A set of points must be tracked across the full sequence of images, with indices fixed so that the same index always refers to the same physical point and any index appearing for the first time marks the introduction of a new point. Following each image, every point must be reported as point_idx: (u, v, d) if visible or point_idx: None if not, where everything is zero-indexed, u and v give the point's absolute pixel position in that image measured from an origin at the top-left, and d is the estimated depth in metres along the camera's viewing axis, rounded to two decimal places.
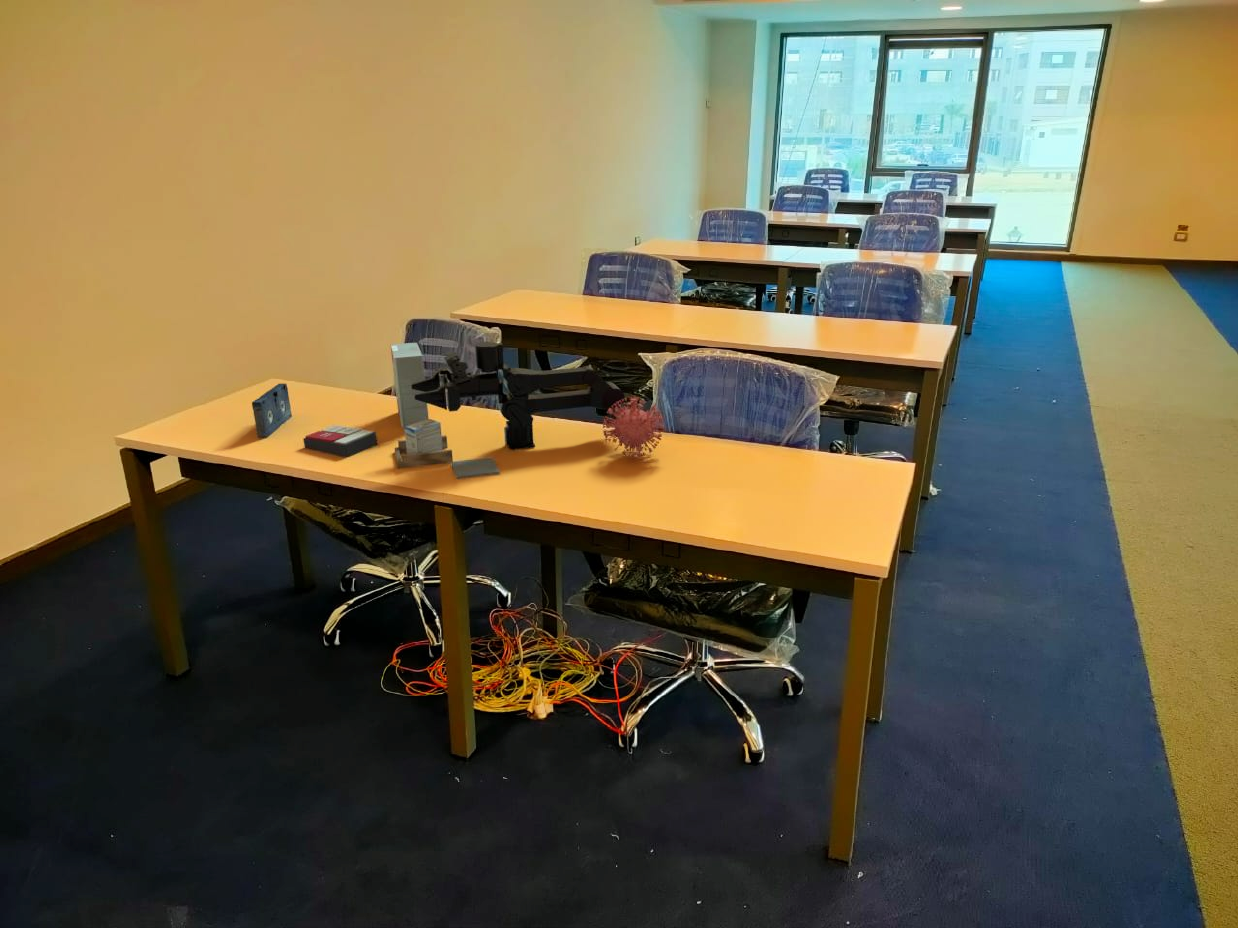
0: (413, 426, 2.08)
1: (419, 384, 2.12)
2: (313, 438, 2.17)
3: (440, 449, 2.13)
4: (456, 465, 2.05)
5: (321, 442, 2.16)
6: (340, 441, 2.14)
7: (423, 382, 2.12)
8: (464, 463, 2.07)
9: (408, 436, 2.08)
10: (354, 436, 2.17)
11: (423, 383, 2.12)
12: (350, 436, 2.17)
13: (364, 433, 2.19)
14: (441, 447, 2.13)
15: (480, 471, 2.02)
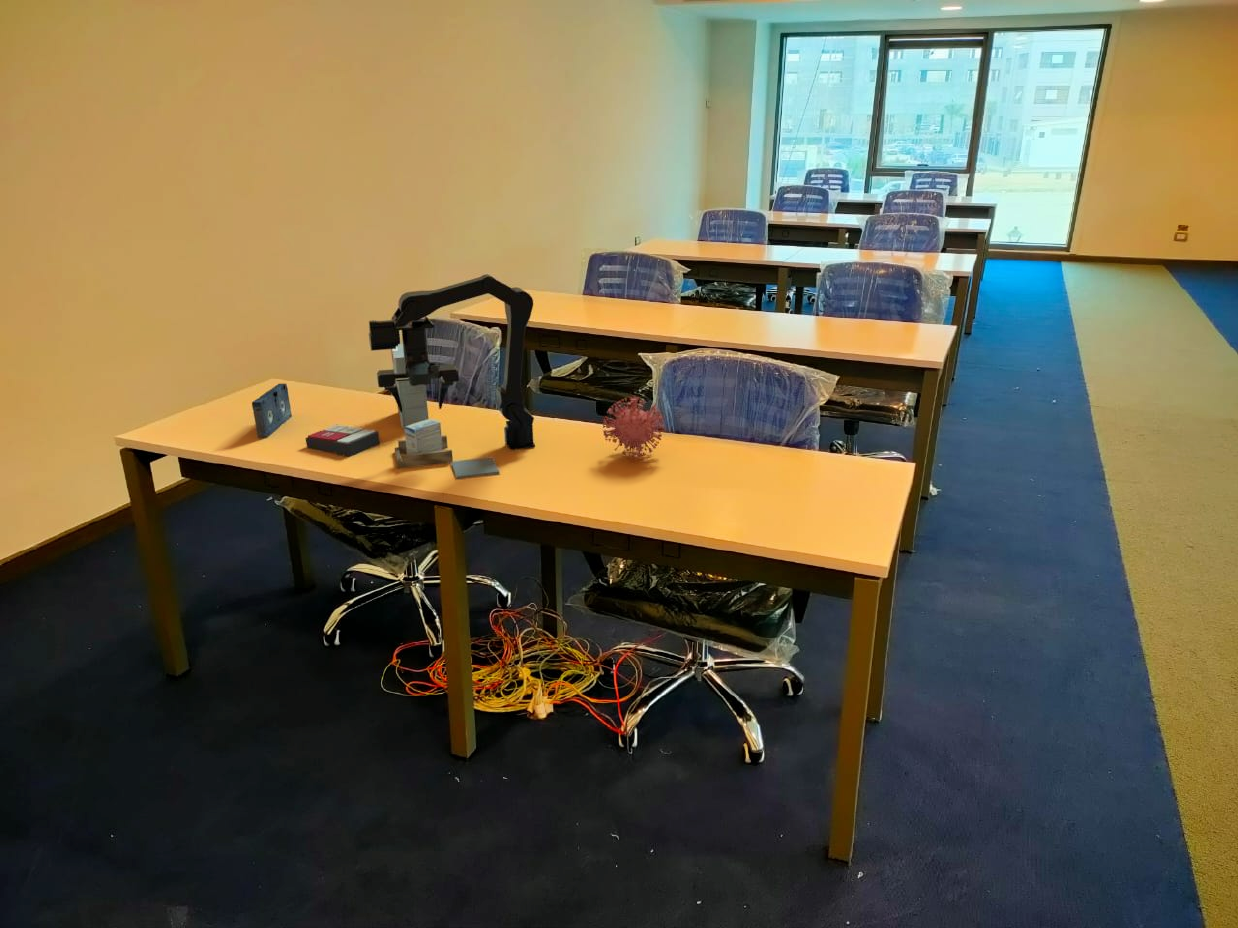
0: (413, 426, 2.08)
1: None
2: (315, 438, 2.18)
3: (440, 449, 2.13)
4: (456, 465, 2.05)
5: (323, 441, 2.16)
6: (343, 440, 2.14)
7: (400, 401, 2.05)
8: (464, 463, 2.07)
9: (408, 436, 2.08)
10: (356, 435, 2.17)
11: (399, 401, 2.06)
12: (352, 435, 2.17)
13: (366, 432, 2.19)
14: (441, 447, 2.13)
15: (480, 471, 2.02)
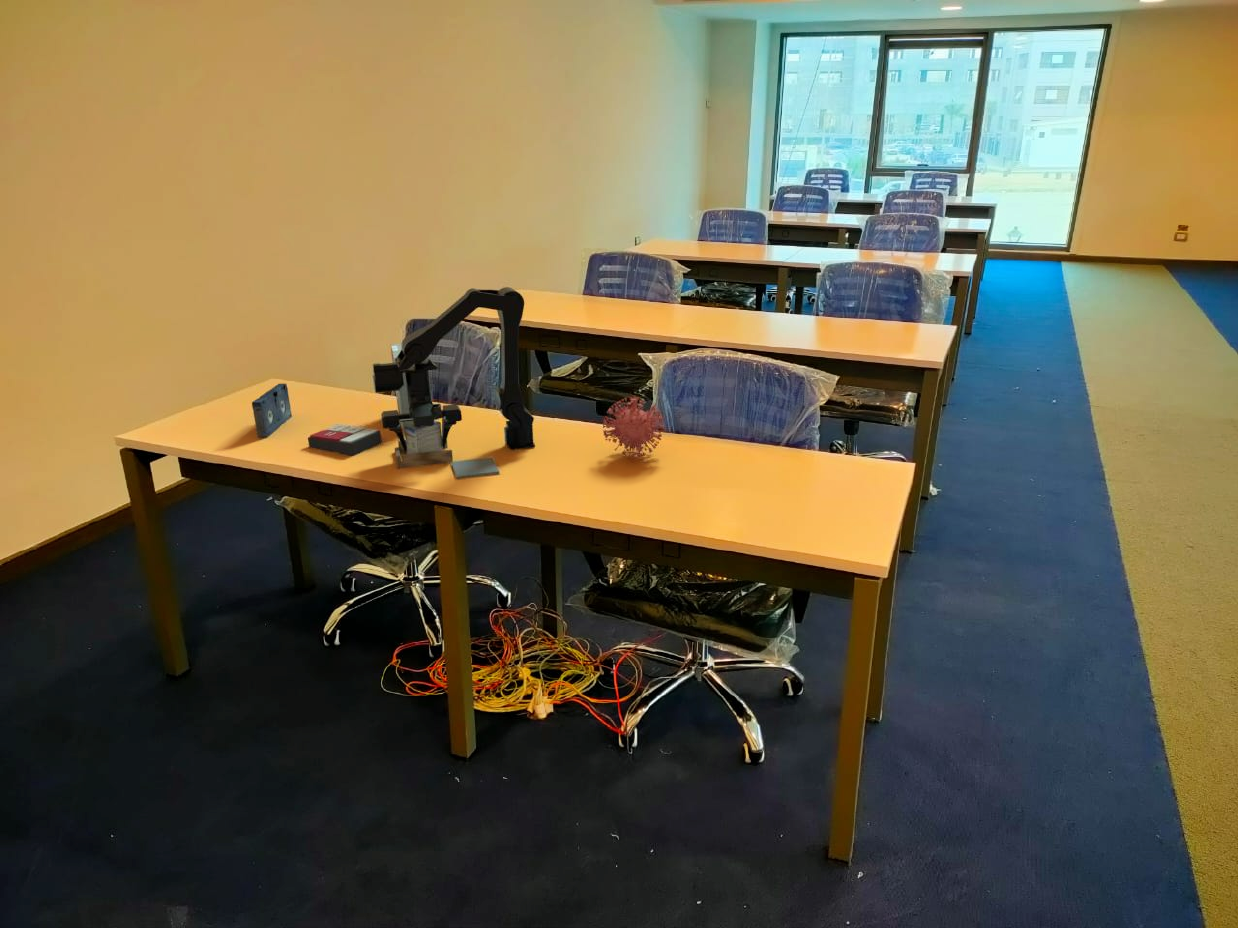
0: (413, 426, 2.08)
1: (405, 444, 2.10)
2: (318, 437, 2.18)
3: (440, 449, 2.13)
4: (456, 465, 2.05)
5: (326, 441, 2.16)
6: (345, 440, 2.14)
7: (404, 441, 2.09)
8: (464, 463, 2.07)
9: (408, 436, 2.08)
10: (359, 435, 2.18)
11: None
12: (355, 435, 2.18)
13: (369, 432, 2.20)
14: (441, 447, 2.13)
15: (480, 471, 2.02)
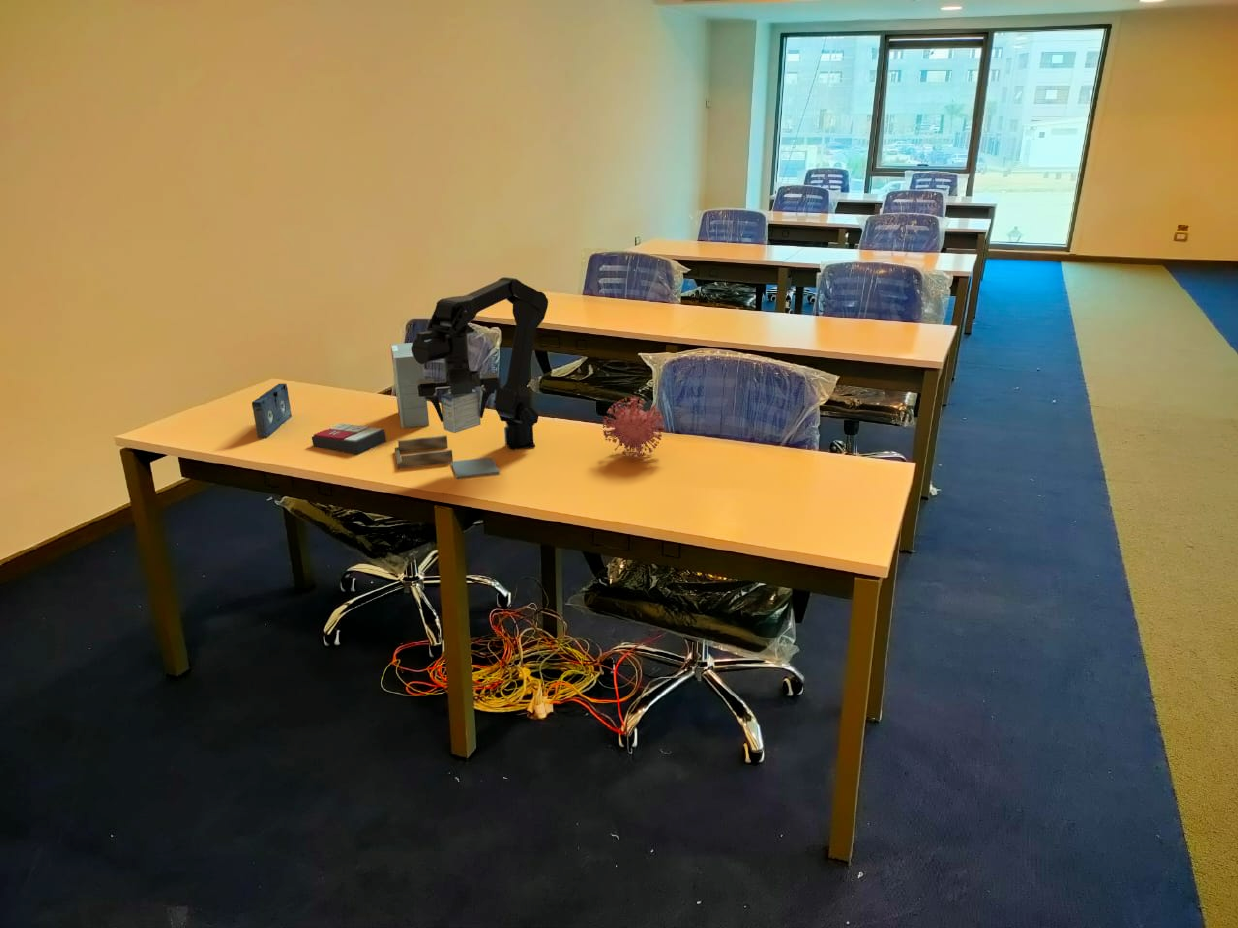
0: (449, 395, 1.98)
1: None
2: (322, 436, 2.19)
3: (478, 419, 2.03)
4: (456, 465, 2.05)
5: (330, 440, 2.17)
6: (350, 439, 2.15)
7: None
8: (464, 463, 2.07)
9: (444, 405, 1.98)
10: (363, 433, 2.18)
11: (440, 410, 1.99)
12: (359, 434, 2.19)
13: (373, 430, 2.21)
14: (479, 417, 2.03)
15: (480, 471, 2.02)
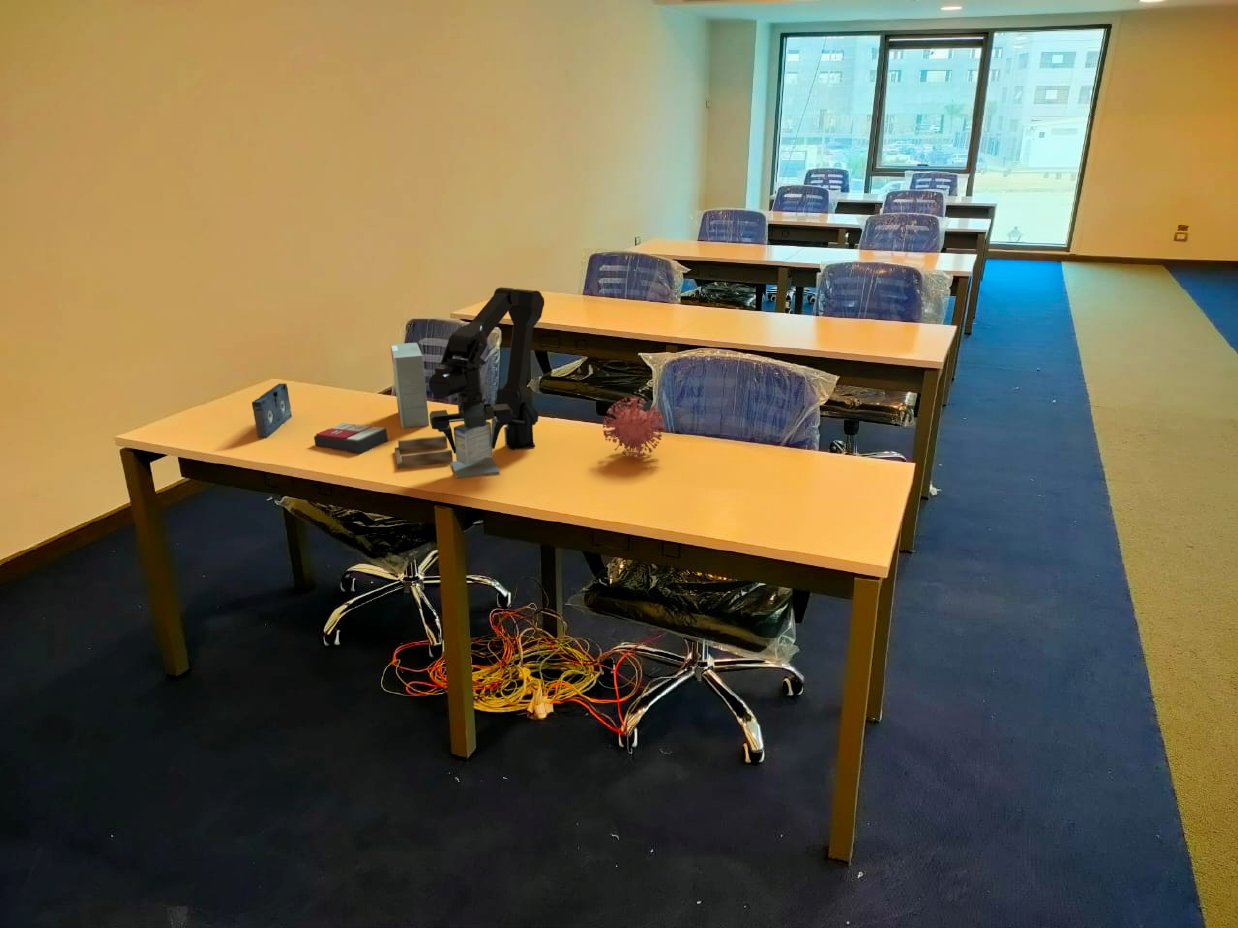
0: (462, 427, 1.99)
1: (454, 445, 2.01)
2: (324, 436, 2.19)
3: (490, 450, 2.04)
4: (456, 465, 2.05)
5: (333, 439, 2.17)
6: (353, 438, 2.16)
7: (453, 442, 2.00)
8: None
9: (458, 437, 1.99)
10: (366, 433, 2.19)
11: None
12: (362, 433, 2.19)
13: (375, 430, 2.21)
14: (491, 448, 2.04)
15: (480, 471, 2.02)
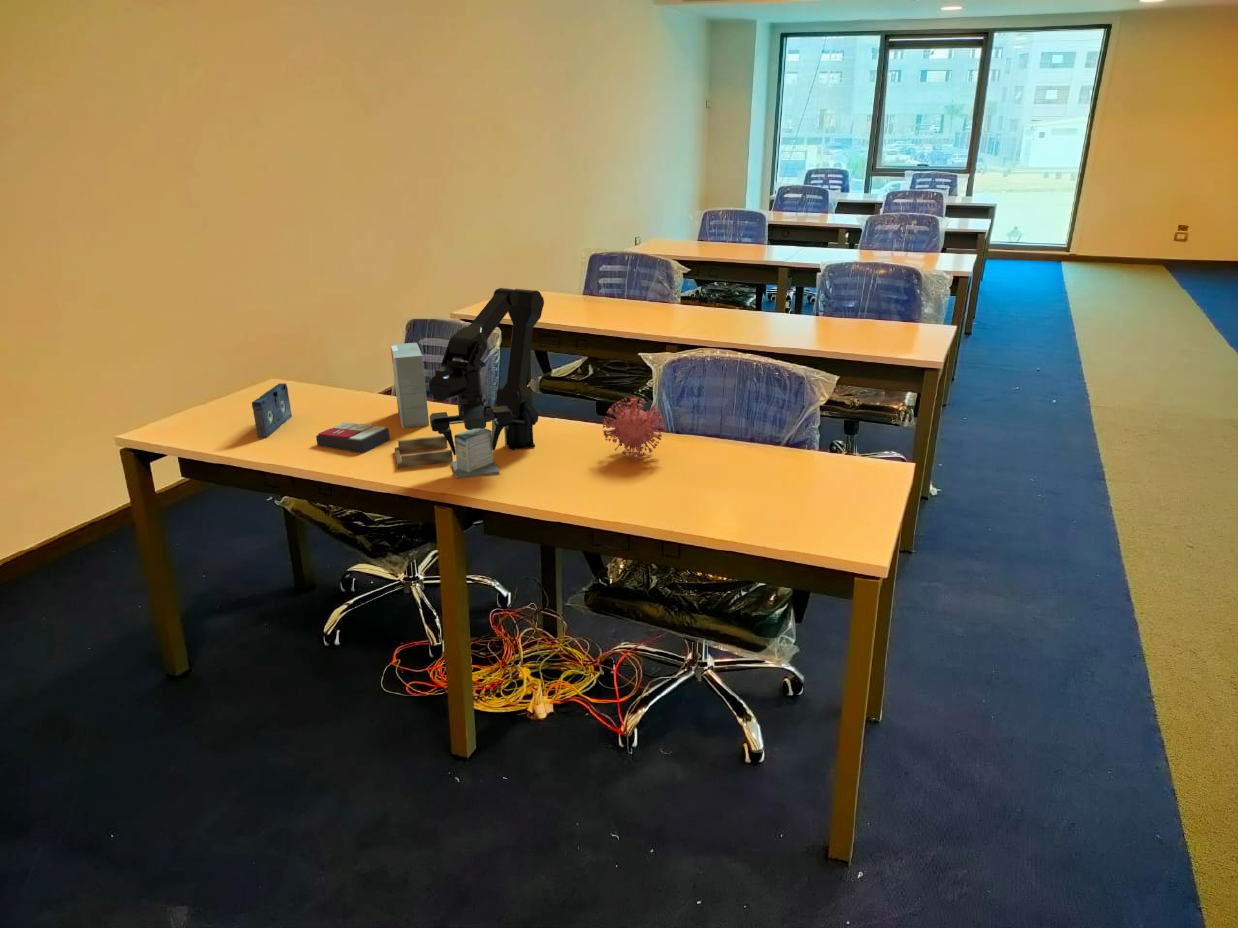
0: (463, 435, 2.00)
1: (454, 447, 2.01)
2: (326, 435, 2.19)
3: (490, 458, 2.05)
4: (456, 465, 2.05)
5: (335, 439, 2.18)
6: (355, 437, 2.16)
7: (453, 444, 2.00)
8: None
9: (458, 445, 2.00)
10: (368, 432, 2.19)
11: None
12: (364, 432, 2.20)
13: (377, 429, 2.22)
14: (491, 456, 2.05)
15: (480, 471, 2.02)
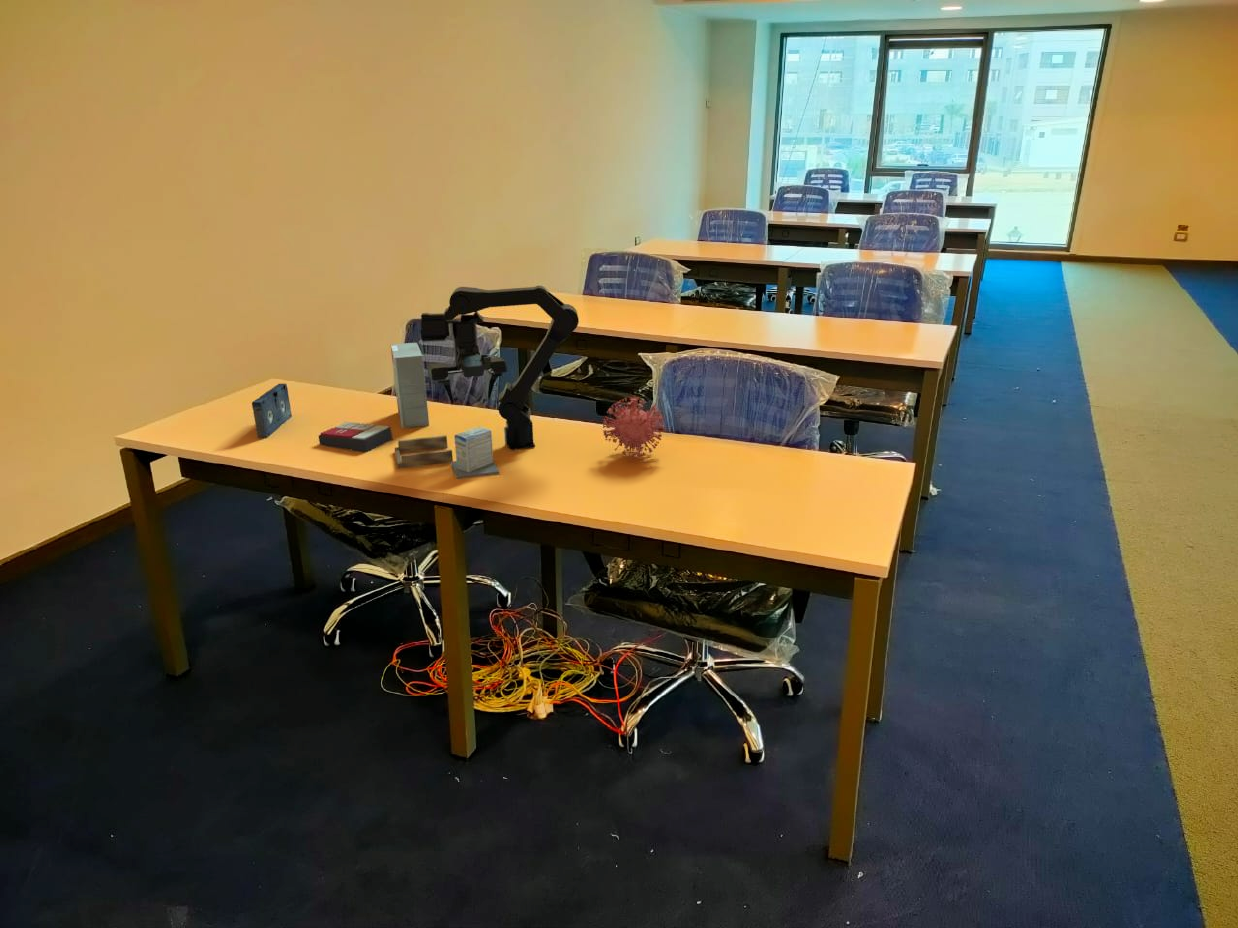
0: (463, 435, 2.00)
1: None
2: (329, 435, 2.20)
3: (490, 458, 2.05)
4: (456, 465, 2.05)
5: (338, 438, 2.18)
6: (358, 437, 2.17)
7: (451, 393, 2.11)
8: None
9: (458, 445, 2.00)
10: (371, 431, 2.20)
11: None
12: (366, 432, 2.20)
13: (380, 428, 2.22)
14: (491, 456, 2.05)
15: (480, 471, 2.02)
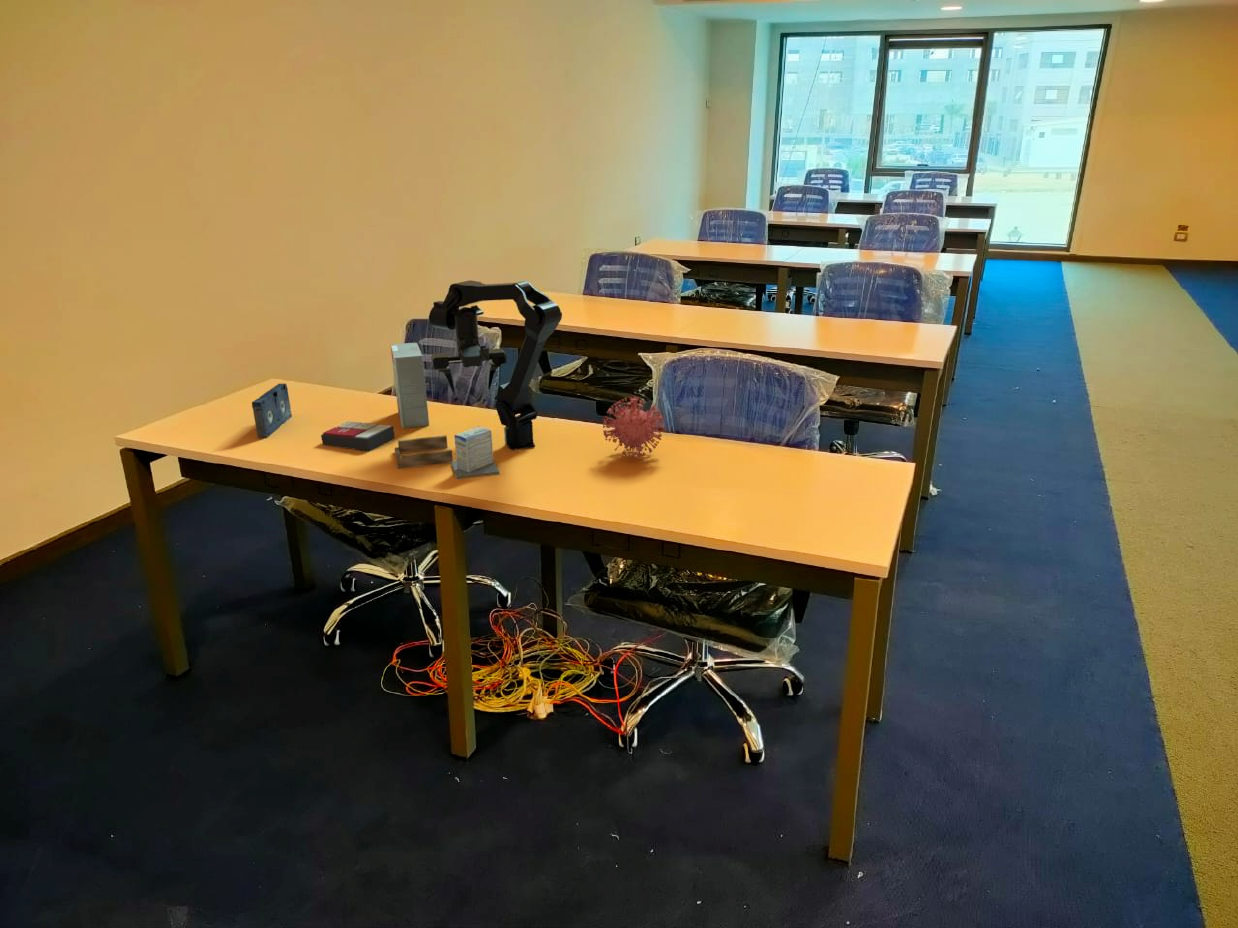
0: (463, 435, 2.00)
1: (453, 385, 2.21)
2: (332, 434, 2.20)
3: (490, 458, 2.05)
4: (456, 465, 2.05)
5: (341, 437, 2.19)
6: (361, 436, 2.17)
7: (452, 382, 2.21)
8: None
9: (458, 445, 2.00)
10: (373, 431, 2.21)
11: None
12: (369, 431, 2.21)
13: (382, 427, 2.23)
14: (491, 456, 2.05)
15: (480, 471, 2.02)
